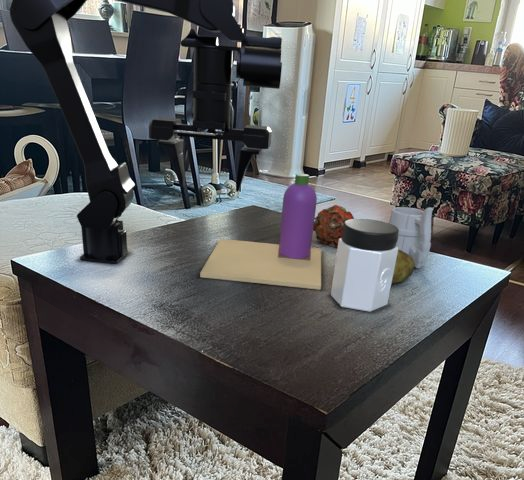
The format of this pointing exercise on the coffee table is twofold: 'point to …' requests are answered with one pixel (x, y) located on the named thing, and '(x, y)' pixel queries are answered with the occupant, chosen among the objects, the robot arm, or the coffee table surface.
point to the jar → (365, 264)
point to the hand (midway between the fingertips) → (209, 188)
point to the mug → (413, 232)
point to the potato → (402, 267)
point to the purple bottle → (297, 219)
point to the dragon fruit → (331, 224)
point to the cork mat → (262, 265)
